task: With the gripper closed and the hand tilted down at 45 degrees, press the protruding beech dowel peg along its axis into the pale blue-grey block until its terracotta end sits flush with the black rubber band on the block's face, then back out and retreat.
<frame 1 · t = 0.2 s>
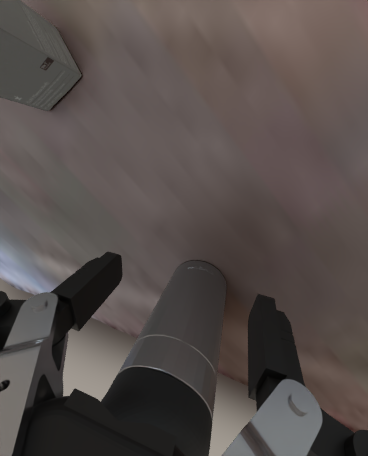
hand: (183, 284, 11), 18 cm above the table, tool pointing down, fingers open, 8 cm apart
skincare box: (53, 69, 26), on the table
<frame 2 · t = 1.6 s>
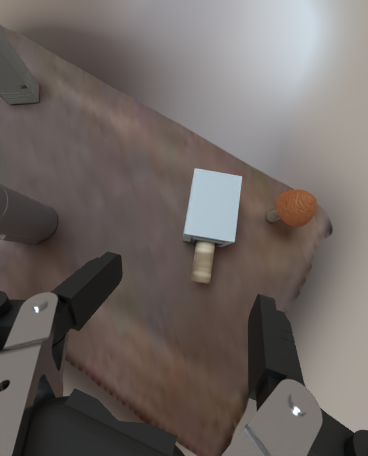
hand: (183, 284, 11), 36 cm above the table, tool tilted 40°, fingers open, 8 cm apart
skincare box: (26, 94, 54), on the table
block: (206, 216, 49), on the table
peg: (204, 252, 40), point 6 cm above the table, slide at 8.0 cm
mushroom: (270, 219, 49), on the table
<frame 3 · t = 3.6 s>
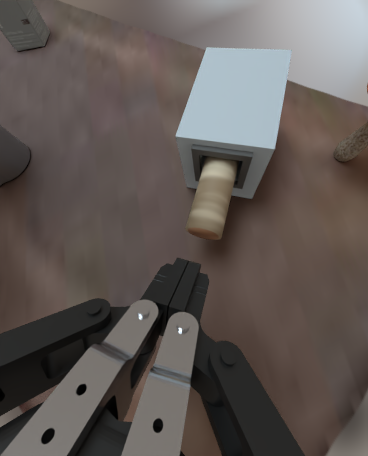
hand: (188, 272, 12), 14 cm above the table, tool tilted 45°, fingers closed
skincare box: (35, 41, 49), on the table
block: (227, 155, 31), on the table
peg: (215, 185, 22), point 7 cm above the table, slide at 8.0 cm
mushroom: (344, 158, 28), on the table
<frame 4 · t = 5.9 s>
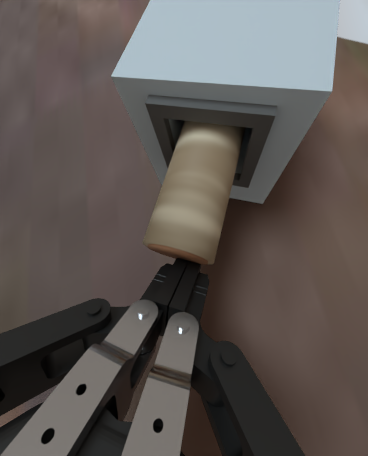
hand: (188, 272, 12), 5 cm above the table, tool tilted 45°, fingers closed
block: (224, 136, 20), on the table
peg: (204, 163, 12), point 6 cm above the table, slide at 6.6 cm, touching gripper
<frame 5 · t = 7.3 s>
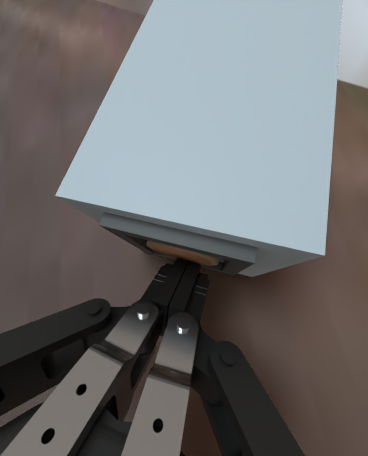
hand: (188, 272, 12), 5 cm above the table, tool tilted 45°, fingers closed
block: (211, 192, 19), on the table
peg: (206, 164, 12), point 7 cm above the table, slide at -0.1 cm, touching gripper
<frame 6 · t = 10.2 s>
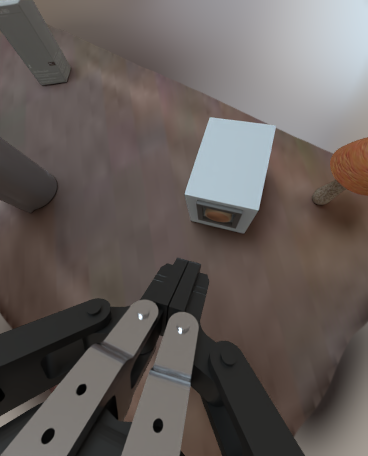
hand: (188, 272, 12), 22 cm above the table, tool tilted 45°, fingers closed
skincare box: (58, 76, 55), on the table
block: (225, 194, 37), on the table
peg: (226, 183, 31), point 6 cm above the table, slide at 0.0 cm
mushroom: (320, 202, 35), on the table
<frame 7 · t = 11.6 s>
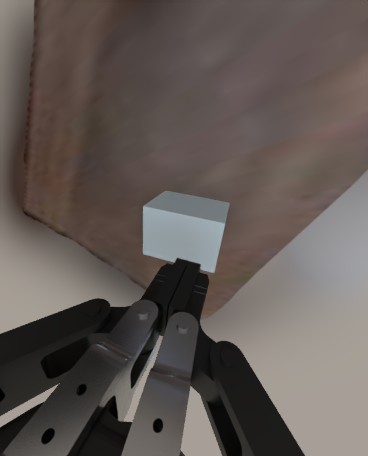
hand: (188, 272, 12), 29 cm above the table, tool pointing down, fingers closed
block: (193, 217, 42), on the table
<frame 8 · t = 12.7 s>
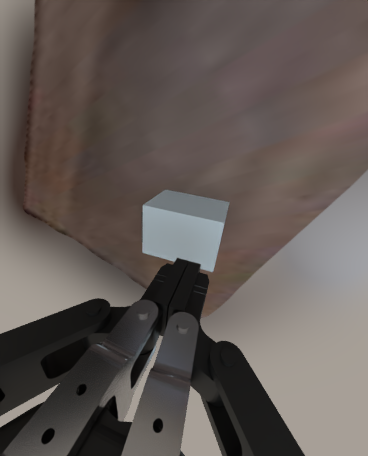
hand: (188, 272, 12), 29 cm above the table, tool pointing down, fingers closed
block: (193, 217, 42), on the table
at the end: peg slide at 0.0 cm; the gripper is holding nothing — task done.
